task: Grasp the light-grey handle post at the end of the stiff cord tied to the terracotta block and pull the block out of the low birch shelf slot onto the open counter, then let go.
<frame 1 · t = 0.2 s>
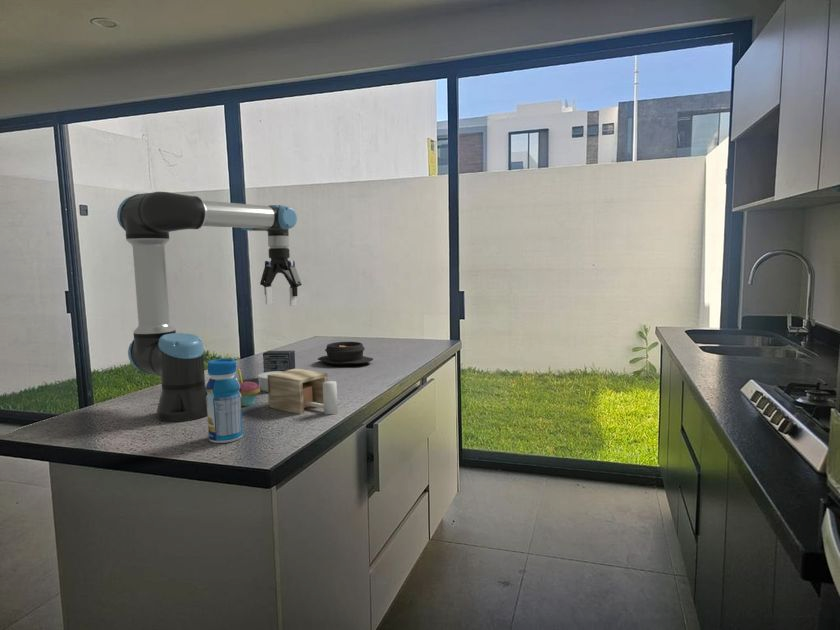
hand: (281, 304, 205), 28 cm above the countertop, tool pointing down, fingers open, 13 cm apart
tethered block: (298, 406, 168), on the countertop
beverage bottle: (225, 439, 139), on the countertop
ramekin: (274, 389, 191), on the countertop
shelf slot: (298, 406, 168), on the countertop
small box: (280, 379, 207), on the countertop
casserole: (345, 363, 235), on the countertop
cupcake: (246, 404, 171), on the countertop
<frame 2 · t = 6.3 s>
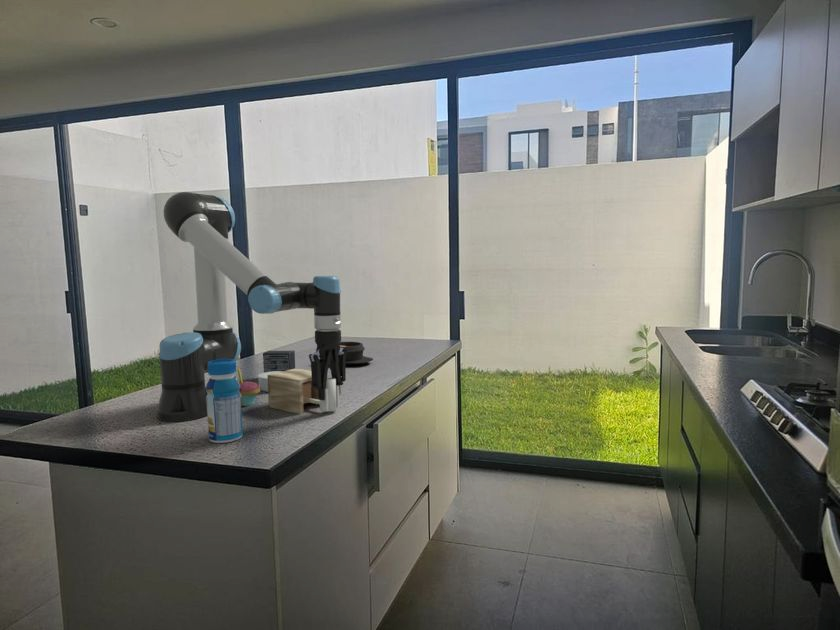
hand: (330, 408, 160), 1 cm above the countertop, tool pointing down, fingers closed on tethered block, 4 cm apart
tethered block: (297, 402, 168), point 1 cm above the countertop, touching gripper
everything else where it was.
when the fingers open (0 cm above the countertop, at t = 10.1 s): tethered block stays where it is, on the countertop.
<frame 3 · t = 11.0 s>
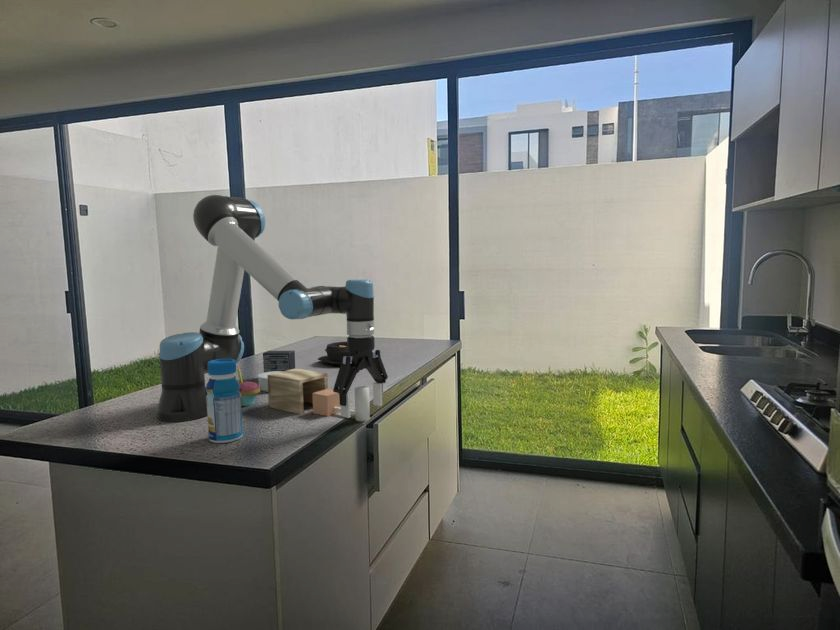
hand: (362, 410, 153), 2 cm above the countertop, tool pointing down, fingers open, 13 cm apart
tethered block: (327, 412, 161), on the countertop
everything else where it was.
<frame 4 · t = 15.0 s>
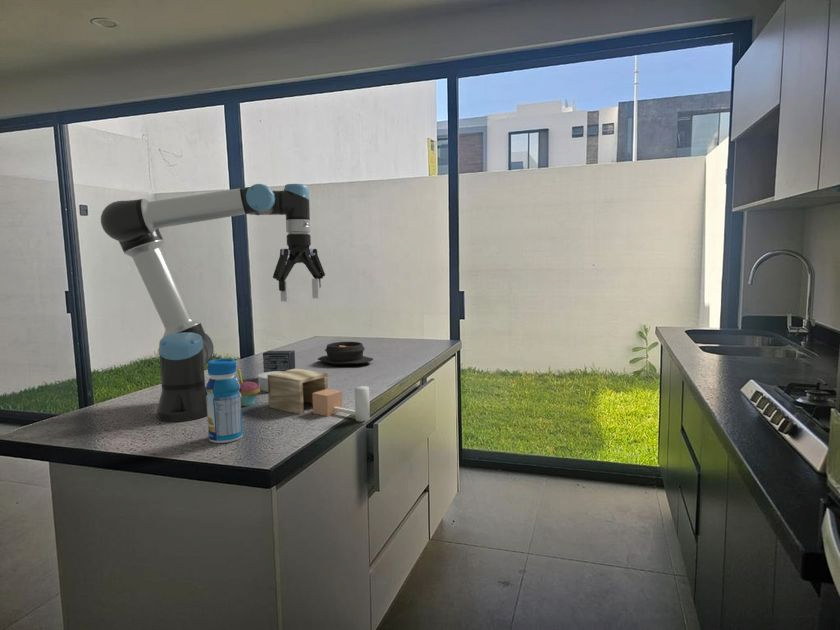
hand: (301, 299, 177), 32 cm above the countertop, tool pointing down, fingers open, 13 cm apart
nothing on the countertop moved.
at the end: tethered block inside the target area (5.7 cm from its centre), on the countertop; tethered block moved 12.3 cm from its start; the gripper is holding nothing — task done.
